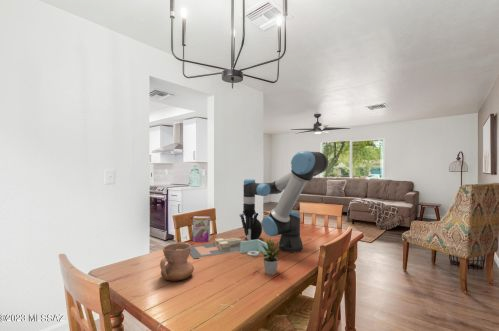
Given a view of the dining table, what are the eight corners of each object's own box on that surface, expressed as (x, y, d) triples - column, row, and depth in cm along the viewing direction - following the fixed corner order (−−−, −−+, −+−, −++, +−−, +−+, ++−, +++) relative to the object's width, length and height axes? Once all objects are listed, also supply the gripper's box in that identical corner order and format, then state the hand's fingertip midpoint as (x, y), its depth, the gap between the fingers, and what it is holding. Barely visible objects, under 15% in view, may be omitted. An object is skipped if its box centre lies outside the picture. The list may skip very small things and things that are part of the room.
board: (252, 249, 157) (252, 248, 157) (194, 259, 141) (194, 258, 141) (238, 240, 177) (238, 239, 177) (184, 247, 161) (184, 247, 161)
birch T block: (245, 248, 159) (245, 241, 159) (222, 251, 152) (222, 244, 152) (235, 241, 172) (235, 235, 172) (213, 244, 166) (213, 238, 166)
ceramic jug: (180, 267, 130) (179, 239, 130) (202, 273, 122) (201, 243, 122) (149, 281, 115) (148, 249, 115) (172, 289, 107) (171, 255, 107)
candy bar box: (192, 242, 173) (192, 217, 173) (194, 240, 178) (194, 216, 178) (208, 242, 172) (208, 217, 172) (210, 240, 177) (210, 216, 177)
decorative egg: (265, 238, 181) (265, 217, 181) (256, 243, 170) (256, 220, 170) (249, 236, 187) (249, 215, 187) (240, 240, 177) (240, 218, 177)
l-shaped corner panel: (240, 254, 150) (240, 241, 150) (258, 251, 156) (258, 239, 156) (249, 261, 140) (249, 247, 140) (268, 258, 145) (268, 244, 145)
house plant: (249, 267, 129) (249, 235, 129) (274, 264, 134) (274, 232, 134) (261, 279, 116) (261, 243, 116) (288, 275, 121) (288, 240, 121)
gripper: (255, 201, 175) (254, 236, 175) (237, 202, 169) (237, 238, 169) (260, 203, 168) (260, 239, 168) (242, 204, 162) (242, 242, 162)
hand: (248, 239), depth 169 cm, fingers closed
